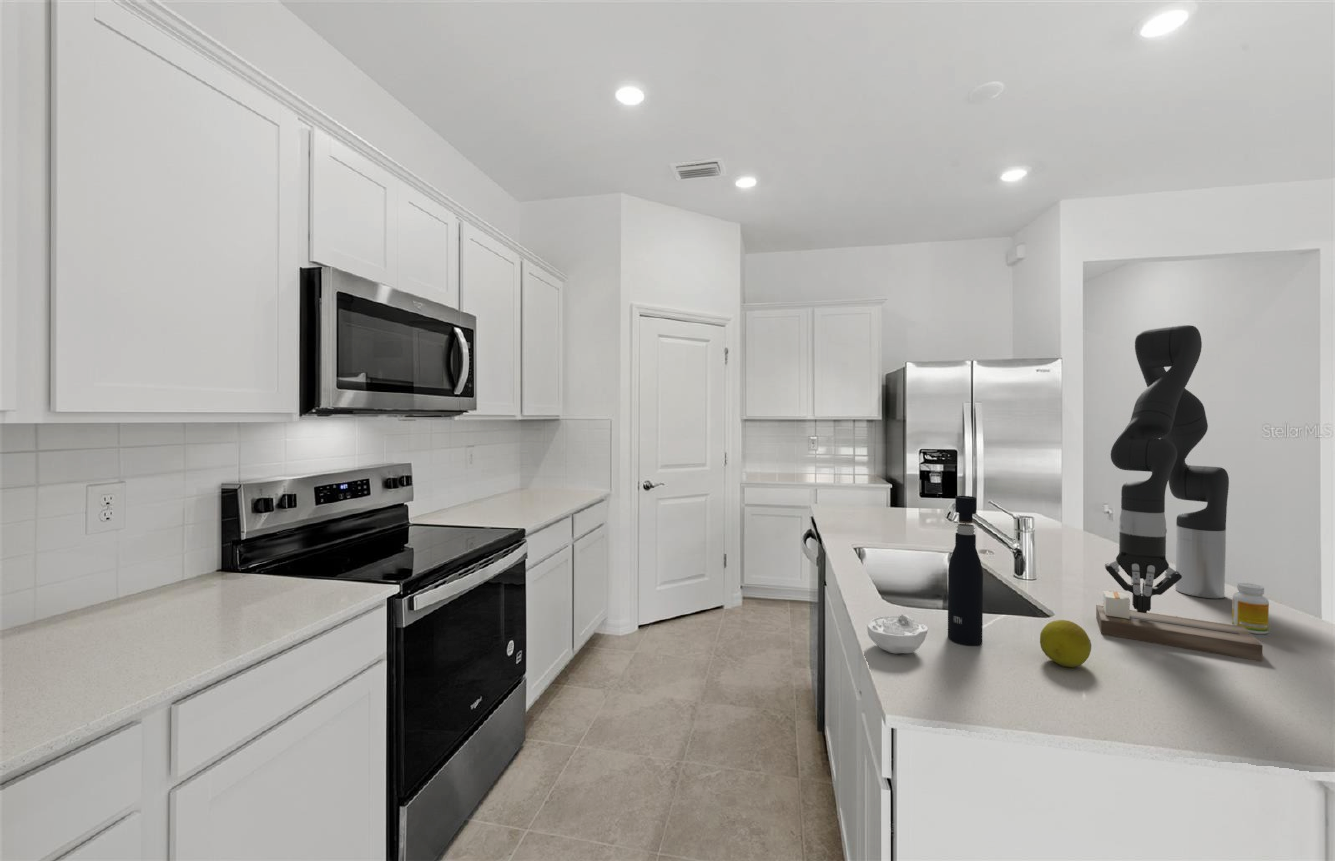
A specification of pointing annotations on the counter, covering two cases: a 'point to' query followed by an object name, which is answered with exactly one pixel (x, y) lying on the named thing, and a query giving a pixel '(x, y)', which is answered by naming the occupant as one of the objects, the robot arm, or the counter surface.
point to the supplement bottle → (1250, 608)
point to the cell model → (897, 633)
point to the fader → (1116, 604)
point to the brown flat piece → (1182, 633)
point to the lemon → (1065, 643)
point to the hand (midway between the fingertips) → (1141, 611)
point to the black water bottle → (965, 580)
